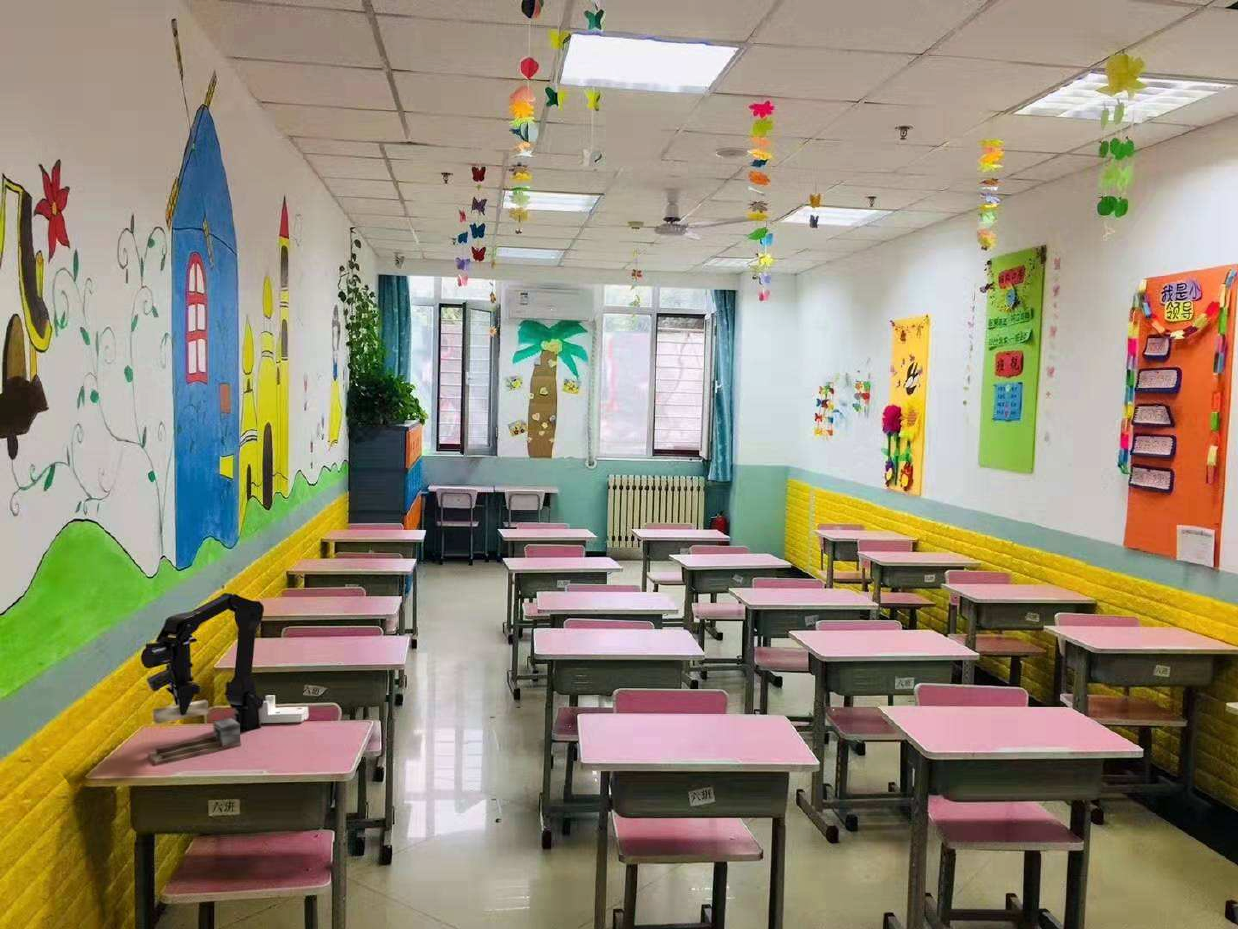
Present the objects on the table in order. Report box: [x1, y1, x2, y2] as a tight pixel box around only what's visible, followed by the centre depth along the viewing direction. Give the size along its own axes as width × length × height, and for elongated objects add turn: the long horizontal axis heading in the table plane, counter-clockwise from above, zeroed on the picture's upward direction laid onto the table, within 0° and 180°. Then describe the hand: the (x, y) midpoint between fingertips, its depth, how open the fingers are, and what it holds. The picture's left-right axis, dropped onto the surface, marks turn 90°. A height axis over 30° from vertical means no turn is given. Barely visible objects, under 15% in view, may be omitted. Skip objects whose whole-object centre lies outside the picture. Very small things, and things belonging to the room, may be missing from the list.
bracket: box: [259, 694, 309, 724], centre depth 296 cm, size 13×7×8 cm, turn 92°
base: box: [147, 717, 242, 766], centre depth 269 cm, size 23×9×6 cm, turn 130°
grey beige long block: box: [152, 699, 209, 725], centre depth 268 cm, size 14×3×4 cm, turn 129°
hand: (181, 713), depth 268 cm, fingers closed on grey beige long block, 3 cm apart
